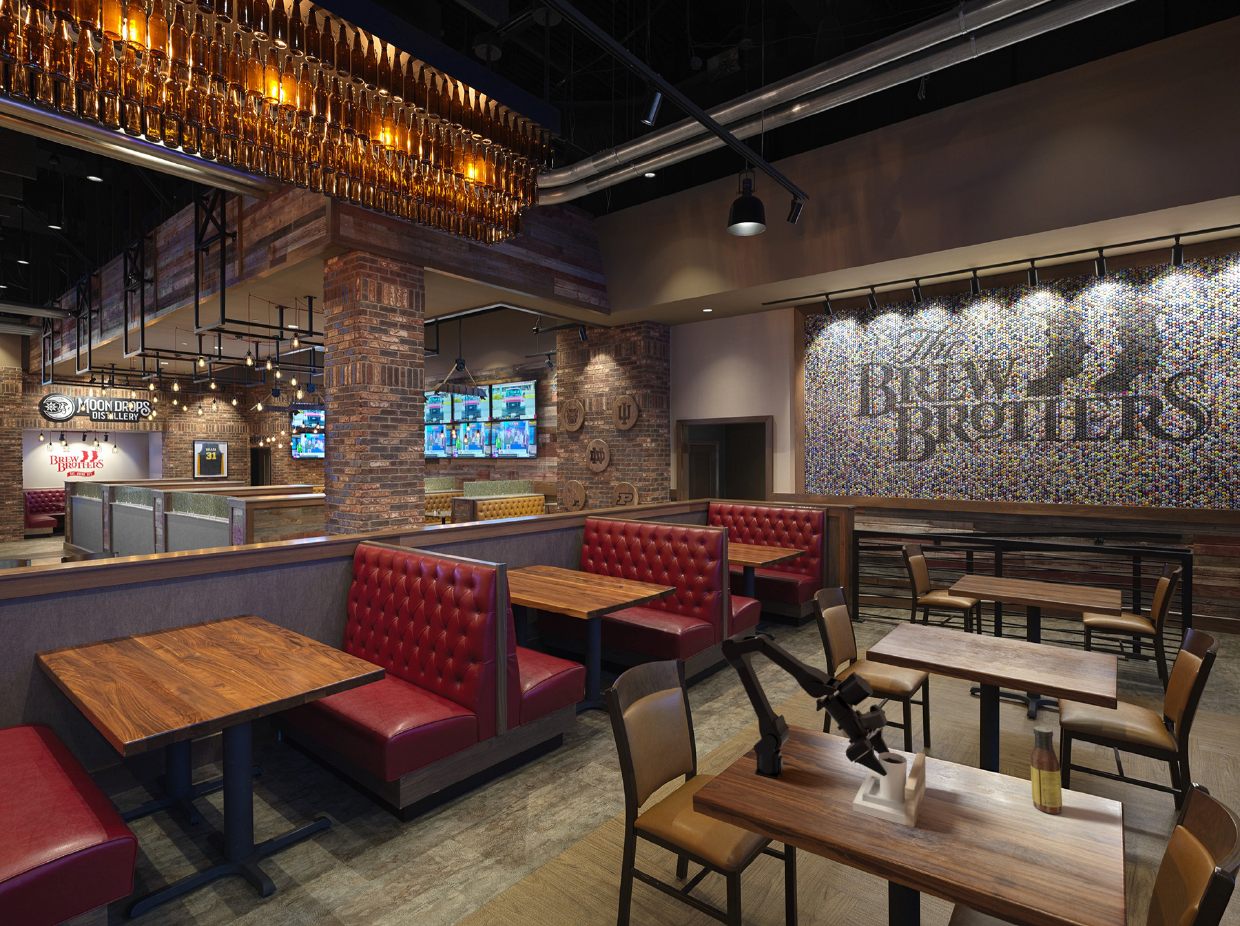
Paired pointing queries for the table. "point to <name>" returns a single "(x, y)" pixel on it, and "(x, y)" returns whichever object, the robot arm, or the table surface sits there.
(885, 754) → the white coffee cup
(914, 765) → the ash wall board
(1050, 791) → the sauce bottle
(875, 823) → the table surface
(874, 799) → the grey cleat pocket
